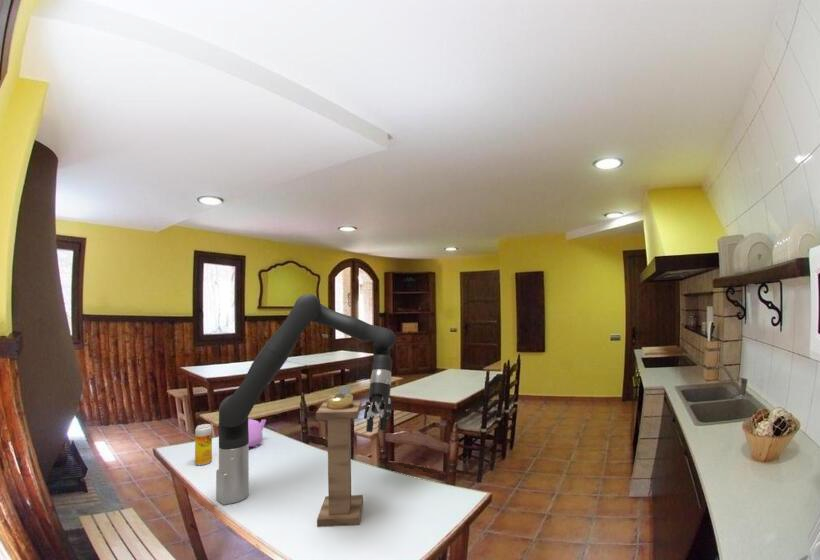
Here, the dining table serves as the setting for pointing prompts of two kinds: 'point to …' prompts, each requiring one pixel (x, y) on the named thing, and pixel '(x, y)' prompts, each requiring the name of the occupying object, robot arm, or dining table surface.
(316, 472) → the dining table surface
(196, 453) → the beer can
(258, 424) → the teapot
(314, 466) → the dining table surface
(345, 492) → the wooden stand
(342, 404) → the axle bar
